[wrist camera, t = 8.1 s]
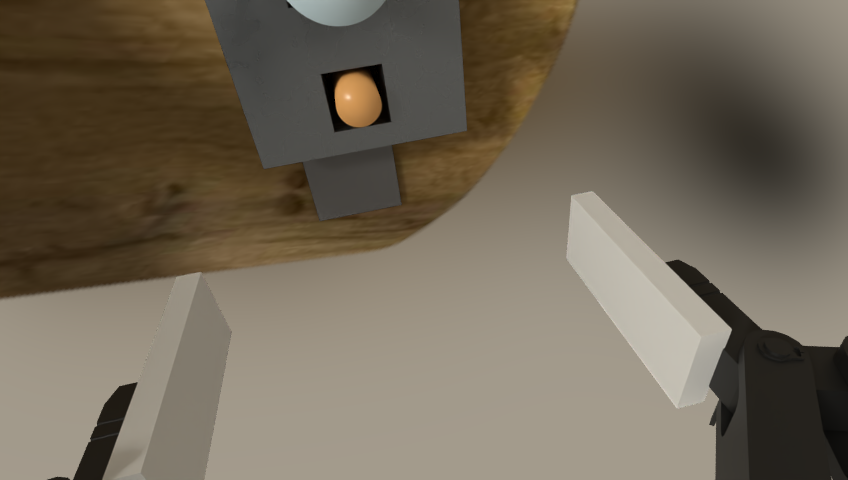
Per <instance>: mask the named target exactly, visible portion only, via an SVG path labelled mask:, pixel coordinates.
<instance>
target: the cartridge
mask: <svg viewBox="0 0 848 480" xmlns="http://www.w3.org/2000/svg"><path fill="white" fill-rule="evenodd" d="M287 1H288V2H289V3H290V4H291V5H292V6H293V7H294V8H295V9H296V10H297V11H298V12H300V13H301V14H302V15H304V16H305V17H307V18H309V19H311V20H313V21H315V22H318V23H321V24H324V25H329V26H348V25H352V24H356V23H358V22H361V21H363V20H365V19H367V18H368V17H370V16H371V15H372V14H374V13H375V12H376V11H377V10H378V9H379V8H380V7H381V6H382V4H383V3H384V2H385V0H287Z"/></svg>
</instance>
